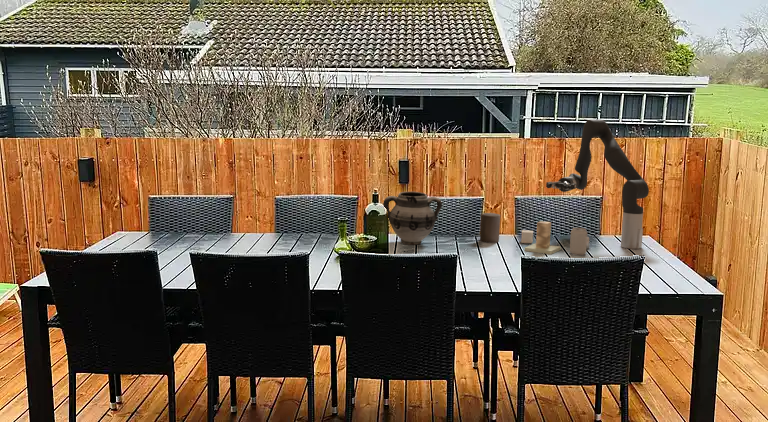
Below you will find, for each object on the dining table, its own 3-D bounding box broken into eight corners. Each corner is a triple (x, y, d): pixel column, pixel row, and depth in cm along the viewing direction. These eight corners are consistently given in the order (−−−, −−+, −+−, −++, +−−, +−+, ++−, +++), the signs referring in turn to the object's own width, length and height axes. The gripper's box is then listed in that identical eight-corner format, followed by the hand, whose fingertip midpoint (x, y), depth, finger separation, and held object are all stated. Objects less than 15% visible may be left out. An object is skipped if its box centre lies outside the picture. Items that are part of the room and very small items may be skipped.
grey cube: (532, 241, 350) (533, 230, 349) (532, 243, 345) (532, 232, 344) (521, 240, 351) (522, 230, 351) (521, 242, 346) (521, 231, 345)
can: (584, 252, 325) (585, 227, 323) (587, 255, 318) (589, 230, 316) (568, 251, 326) (569, 226, 324) (570, 255, 318) (572, 229, 317)
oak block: (549, 247, 329) (551, 222, 327) (545, 248, 324) (547, 223, 323) (539, 245, 331) (541, 221, 329) (535, 247, 327) (537, 222, 325)
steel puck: (574, 246, 337) (574, 237, 336) (586, 245, 338) (586, 236, 337) (578, 249, 331) (578, 239, 330) (591, 248, 332) (590, 238, 331)
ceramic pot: (440, 239, 350) (442, 190, 346) (441, 248, 327) (442, 196, 323) (384, 237, 351) (385, 189, 348) (380, 246, 329) (381, 195, 325)
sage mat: (560, 249, 330) (560, 246, 330) (550, 254, 319) (551, 251, 319) (534, 246, 337) (534, 243, 337) (524, 250, 326) (524, 247, 326)
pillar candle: (478, 241, 345) (479, 212, 343) (481, 238, 355) (482, 209, 352) (497, 243, 343) (499, 214, 340) (500, 240, 352) (501, 211, 350)
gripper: (554, 175, 363) (543, 178, 350) (580, 177, 356) (570, 180, 342) (553, 190, 365) (542, 192, 351) (579, 192, 357) (569, 195, 343)
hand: (556, 186), depth 347 cm, fingers open, 8 cm apart
